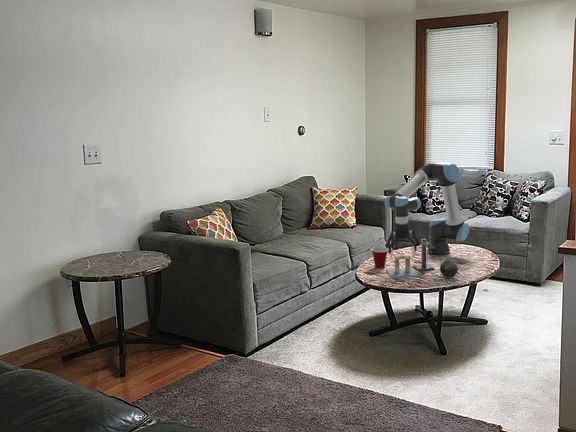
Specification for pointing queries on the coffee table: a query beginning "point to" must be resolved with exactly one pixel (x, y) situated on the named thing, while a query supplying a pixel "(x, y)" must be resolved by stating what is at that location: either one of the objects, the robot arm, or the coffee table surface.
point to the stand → (424, 257)
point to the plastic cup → (379, 256)
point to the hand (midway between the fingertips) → (402, 258)
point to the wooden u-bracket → (407, 262)
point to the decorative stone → (448, 269)
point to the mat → (402, 273)
